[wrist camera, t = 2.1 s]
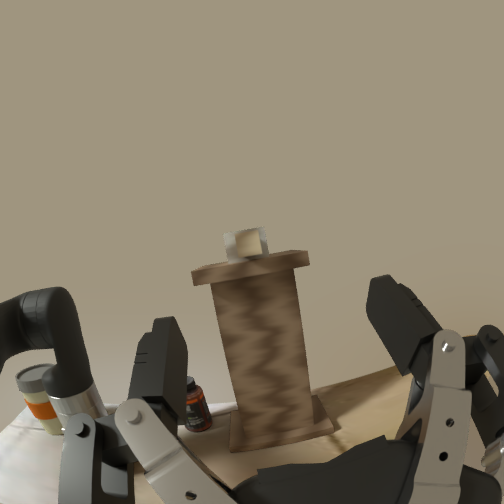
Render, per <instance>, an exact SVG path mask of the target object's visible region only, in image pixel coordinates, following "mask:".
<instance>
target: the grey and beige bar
mask: <svg viewBox="0 0 504 504" xmlns="http://www.w3.org/2000/svg"><path fill="white" fill-rule="evenodd" d="M223 236H224V242H225V247H226V253H227V258H228V264H231V263H236V262H242V261H248V260H253V259H259V258H264V257H269V252H268V246H267V240H266V235H265V230H264V227H259V228H253V229H247V230H242V231H236V232H230V233H225V234H223Z"/></svg>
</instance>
